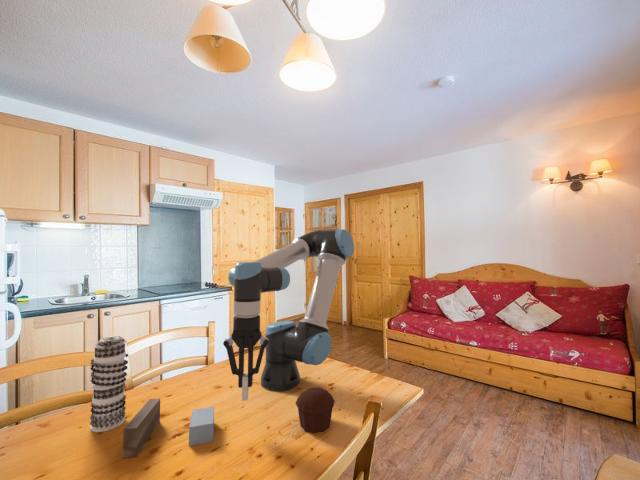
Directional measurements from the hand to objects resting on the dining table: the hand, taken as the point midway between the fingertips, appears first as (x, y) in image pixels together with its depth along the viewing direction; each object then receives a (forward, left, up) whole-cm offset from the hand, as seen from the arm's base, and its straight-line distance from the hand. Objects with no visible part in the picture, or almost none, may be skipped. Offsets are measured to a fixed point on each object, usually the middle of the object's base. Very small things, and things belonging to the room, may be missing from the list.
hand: (245, 398), depth 85 cm
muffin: (-20, 0, -9) cm, 22 cm away
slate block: (+12, 0, -9) cm, 15 cm away
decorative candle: (+41, -9, -9) cm, 43 cm away
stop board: (+27, 0, -9) cm, 29 cm away
